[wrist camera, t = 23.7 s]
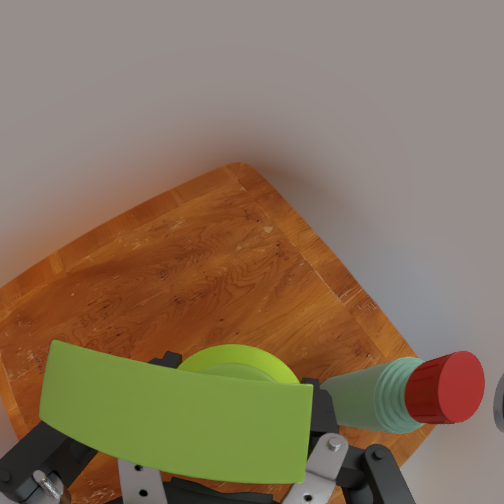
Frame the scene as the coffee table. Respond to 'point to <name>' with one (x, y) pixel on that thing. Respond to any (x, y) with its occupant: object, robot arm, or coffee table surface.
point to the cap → (445, 389)
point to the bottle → (374, 397)
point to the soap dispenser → (184, 411)
